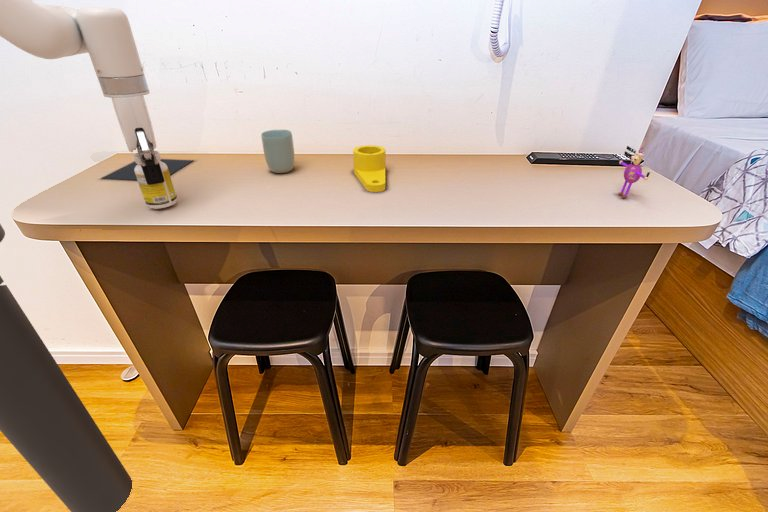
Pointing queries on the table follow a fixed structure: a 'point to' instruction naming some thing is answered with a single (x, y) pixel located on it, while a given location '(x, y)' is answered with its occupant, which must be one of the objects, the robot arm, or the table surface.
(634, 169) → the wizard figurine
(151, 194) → the pill bottle
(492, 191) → the table surface
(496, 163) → the table surface
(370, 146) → the crank
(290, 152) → the cup
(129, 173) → the mat
